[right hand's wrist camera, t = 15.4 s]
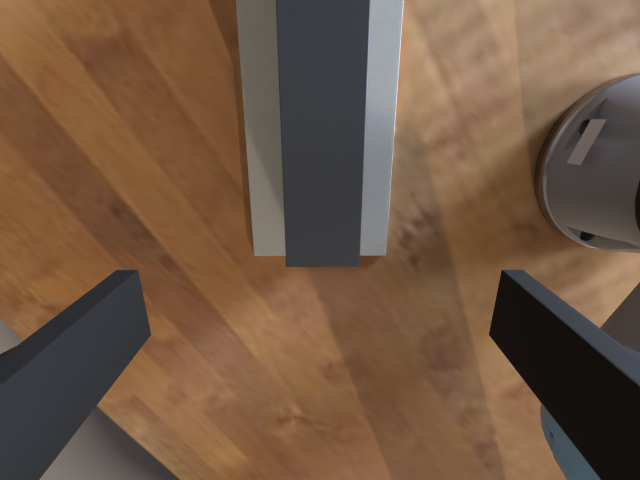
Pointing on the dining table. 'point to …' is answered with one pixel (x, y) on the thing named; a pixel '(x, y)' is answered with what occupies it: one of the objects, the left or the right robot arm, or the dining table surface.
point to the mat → (266, 128)
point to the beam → (323, 127)
